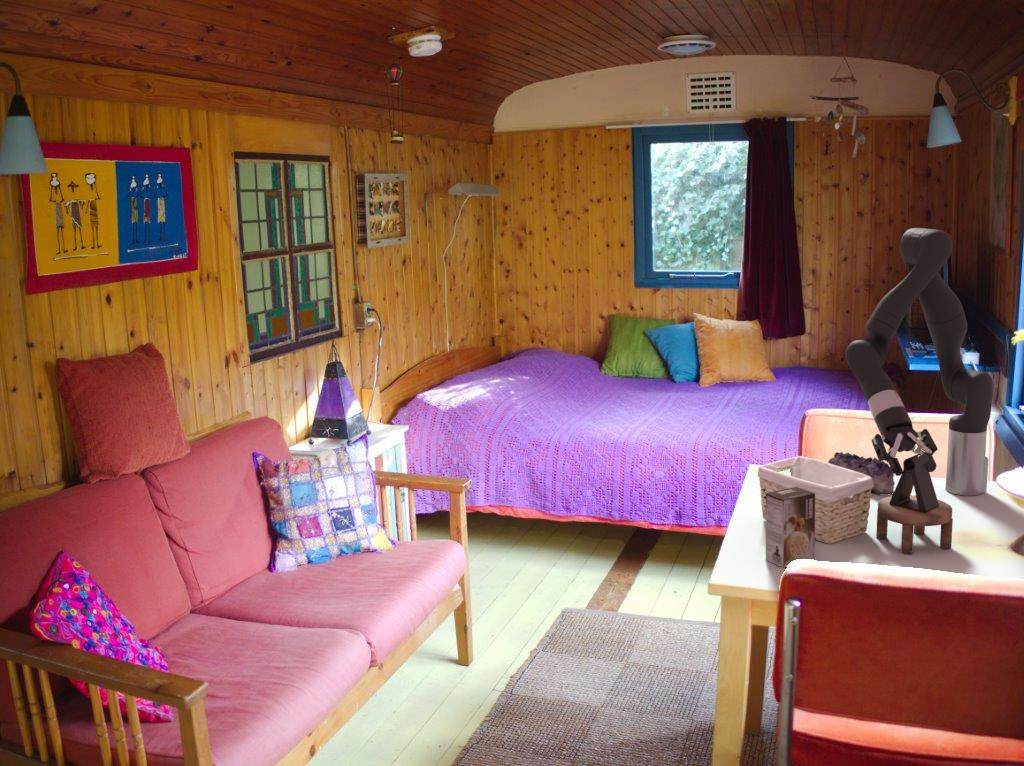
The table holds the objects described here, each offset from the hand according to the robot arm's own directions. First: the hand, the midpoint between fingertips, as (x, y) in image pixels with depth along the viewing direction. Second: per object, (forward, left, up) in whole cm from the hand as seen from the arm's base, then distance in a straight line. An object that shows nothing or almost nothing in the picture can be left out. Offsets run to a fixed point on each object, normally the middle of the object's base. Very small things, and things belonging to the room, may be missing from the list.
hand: (916, 472), depth 227 cm
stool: (0, 0, -17) cm, 17 cm away
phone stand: (0, 0, -8) cm, 8 cm away
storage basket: (+17, -17, -17) cm, 29 cm away
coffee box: (+32, +1, -17) cm, 37 cm away
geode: (-12, -42, -18) cm, 47 cm away
